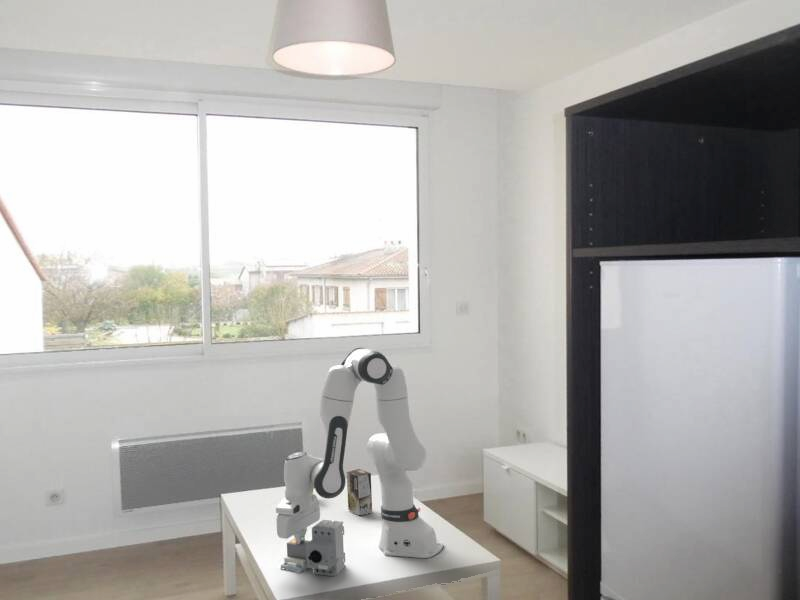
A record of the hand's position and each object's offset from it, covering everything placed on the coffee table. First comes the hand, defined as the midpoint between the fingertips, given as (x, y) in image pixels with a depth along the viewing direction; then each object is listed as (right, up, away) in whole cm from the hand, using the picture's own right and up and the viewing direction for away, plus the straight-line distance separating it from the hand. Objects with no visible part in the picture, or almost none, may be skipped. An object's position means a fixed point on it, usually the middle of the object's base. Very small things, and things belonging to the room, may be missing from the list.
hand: (300, 542), depth 245 cm
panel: (+1, -7, +1) cm, 7 cm away
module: (0, -6, 0) cm, 6 cm away
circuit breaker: (+9, -8, -8) cm, 15 cm away
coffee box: (+17, -4, +50) cm, 53 cm away
